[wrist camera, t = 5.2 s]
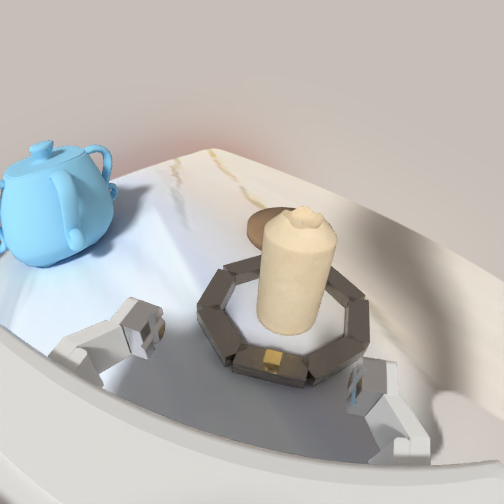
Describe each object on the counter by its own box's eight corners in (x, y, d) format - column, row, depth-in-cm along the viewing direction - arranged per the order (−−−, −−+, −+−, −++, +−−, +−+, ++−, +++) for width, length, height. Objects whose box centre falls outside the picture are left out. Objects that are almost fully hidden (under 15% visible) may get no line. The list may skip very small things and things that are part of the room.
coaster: (333, 223, 42) (334, 216, 41) (329, 267, 33) (332, 259, 33) (258, 209, 44) (259, 202, 44) (235, 248, 35) (236, 239, 35)
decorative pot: (85, 288, 28) (55, 161, 20) (-10, 274, 27) (-42, 175, 20) (132, 214, 41) (124, 121, 34) (47, 213, 41) (33, 133, 33)
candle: (249, 329, 25) (258, 225, 20) (262, 289, 30) (272, 194, 24) (313, 341, 24) (342, 240, 19) (317, 299, 29) (339, 205, 23)
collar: (363, 279, 32) (368, 266, 31) (363, 398, 20) (371, 386, 19) (233, 253, 34) (233, 239, 33) (174, 354, 22) (171, 340, 21)
